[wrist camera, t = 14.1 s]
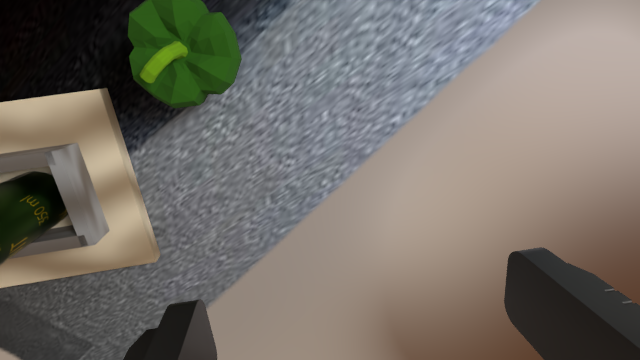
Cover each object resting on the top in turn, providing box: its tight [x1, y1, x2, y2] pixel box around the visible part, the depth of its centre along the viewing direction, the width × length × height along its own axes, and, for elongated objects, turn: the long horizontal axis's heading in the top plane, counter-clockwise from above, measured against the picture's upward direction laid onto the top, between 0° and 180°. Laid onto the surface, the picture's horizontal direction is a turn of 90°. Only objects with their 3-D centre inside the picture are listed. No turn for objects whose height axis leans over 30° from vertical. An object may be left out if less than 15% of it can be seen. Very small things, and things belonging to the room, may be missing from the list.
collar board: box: [0, 88, 160, 288], centre depth 33 cm, size 18×16×4 cm
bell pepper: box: [128, 0, 242, 108], centre depth 28 cm, size 8×8×10 cm
